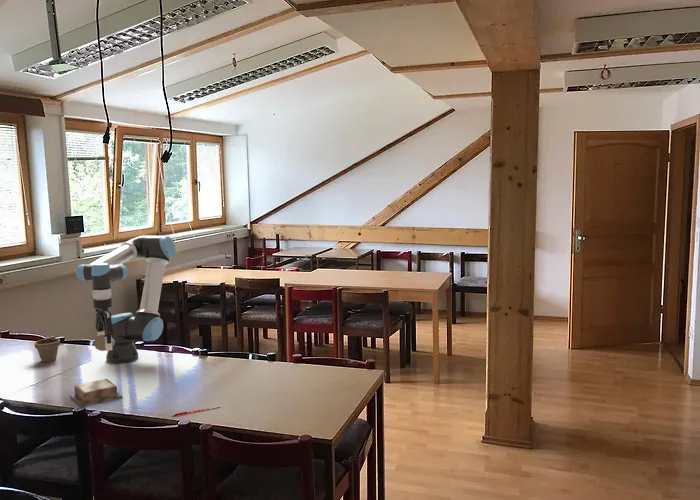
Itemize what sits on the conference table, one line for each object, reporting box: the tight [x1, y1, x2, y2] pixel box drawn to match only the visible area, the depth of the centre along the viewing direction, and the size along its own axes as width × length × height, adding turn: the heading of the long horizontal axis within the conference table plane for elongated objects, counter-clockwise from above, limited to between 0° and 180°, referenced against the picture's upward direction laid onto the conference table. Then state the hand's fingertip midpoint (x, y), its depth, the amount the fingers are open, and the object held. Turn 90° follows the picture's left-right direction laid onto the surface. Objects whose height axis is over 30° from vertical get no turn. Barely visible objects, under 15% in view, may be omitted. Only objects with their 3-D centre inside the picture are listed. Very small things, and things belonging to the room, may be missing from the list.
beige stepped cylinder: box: [93, 334, 115, 352], centre depth 264 cm, size 8×10×10 cm
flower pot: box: [34, 337, 61, 363], centre depth 298 cm, size 12×11×10 cm
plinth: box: [69, 378, 123, 408], centre depth 245 cm, size 16×16×5 cm
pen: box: [171, 407, 210, 417], centre depth 229 cm, size 1×19×1 cm, turn 119°
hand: (105, 347), depth 264 cm, fingers closed on beige stepped cylinder, 9 cm apart
